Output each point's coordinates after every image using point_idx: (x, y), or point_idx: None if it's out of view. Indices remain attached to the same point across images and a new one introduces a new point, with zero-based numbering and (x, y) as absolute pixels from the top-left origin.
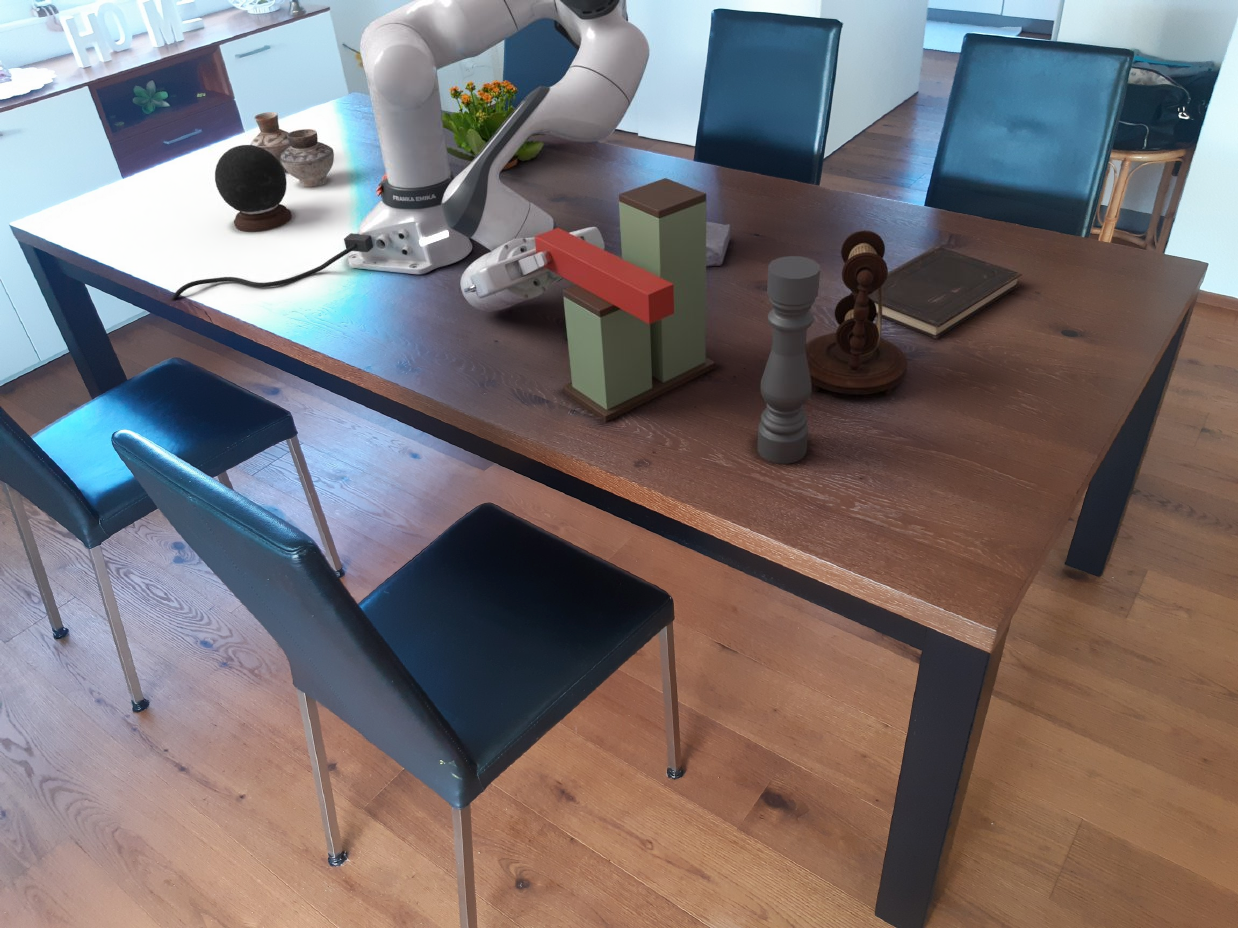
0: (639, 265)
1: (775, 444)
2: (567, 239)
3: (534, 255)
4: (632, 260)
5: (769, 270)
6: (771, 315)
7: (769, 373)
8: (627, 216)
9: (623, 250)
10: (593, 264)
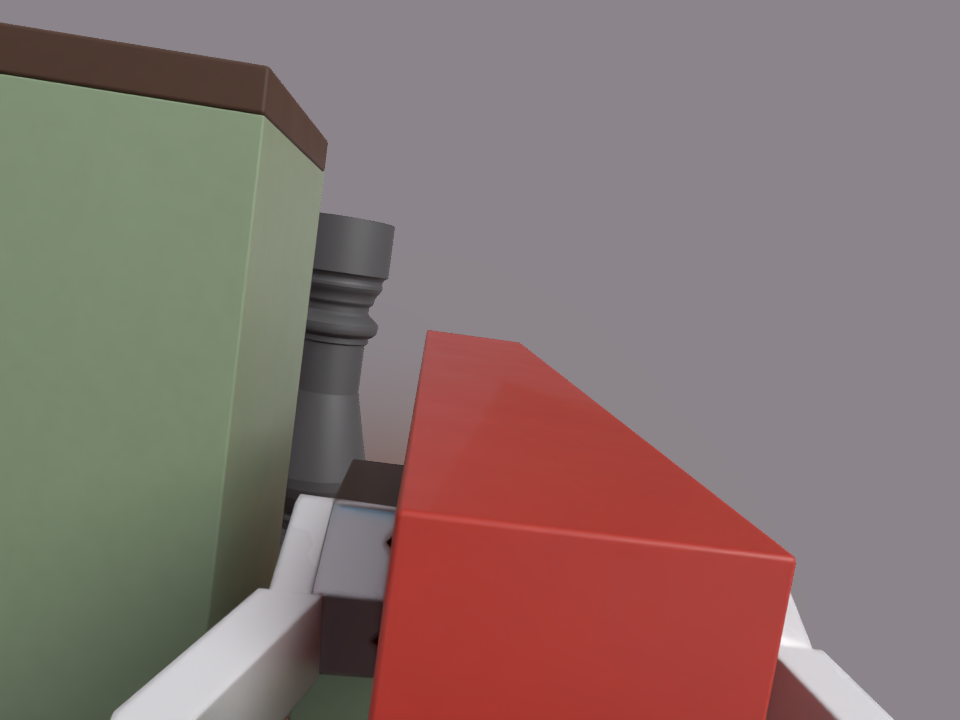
0: (266, 438)
1: None
2: (504, 433)
3: (809, 646)
4: (253, 441)
5: (386, 224)
6: (364, 320)
7: (360, 437)
8: (274, 197)
9: (235, 424)
10: (554, 376)
